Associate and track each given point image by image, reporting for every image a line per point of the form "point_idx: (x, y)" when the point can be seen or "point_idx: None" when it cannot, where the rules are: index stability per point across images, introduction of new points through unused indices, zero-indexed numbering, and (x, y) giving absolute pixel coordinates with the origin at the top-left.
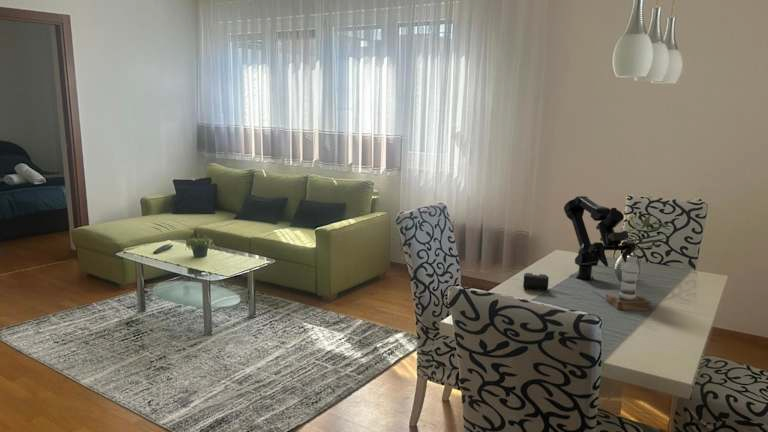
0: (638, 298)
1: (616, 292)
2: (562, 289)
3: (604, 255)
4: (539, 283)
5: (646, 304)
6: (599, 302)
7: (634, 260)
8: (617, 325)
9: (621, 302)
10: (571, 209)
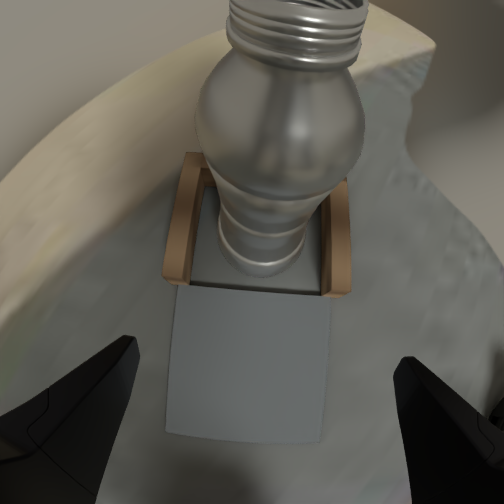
0: (191, 231)
1: (206, 399)
2: None
3: (483, 438)
4: None
5: None
6: (375, 281)
7: (290, 2)
8: (392, 101)
9: None
10: None
